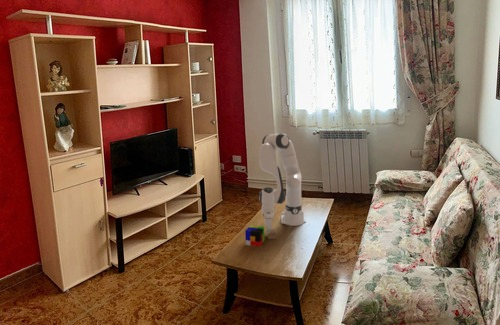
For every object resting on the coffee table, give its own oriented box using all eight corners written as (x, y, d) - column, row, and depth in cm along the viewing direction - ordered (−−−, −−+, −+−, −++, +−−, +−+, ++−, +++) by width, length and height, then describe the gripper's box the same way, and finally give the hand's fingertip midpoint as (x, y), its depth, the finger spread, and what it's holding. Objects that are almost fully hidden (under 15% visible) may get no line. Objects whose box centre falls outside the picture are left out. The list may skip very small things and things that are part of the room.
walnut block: (267, 236, 288) (267, 229, 287) (274, 235, 289) (274, 229, 288) (268, 239, 283) (268, 232, 282) (275, 238, 284) (275, 232, 283)
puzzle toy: (245, 244, 275) (245, 230, 273) (250, 238, 284) (250, 225, 282) (260, 246, 272) (259, 232, 270) (264, 240, 281) (264, 226, 279)
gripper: (262, 206, 293) (262, 225, 296) (264, 216, 273) (264, 236, 276) (271, 206, 293) (271, 225, 296) (273, 216, 273) (273, 236, 276)
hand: (267, 230), depth 286 cm, fingers open, 8 cm apart
